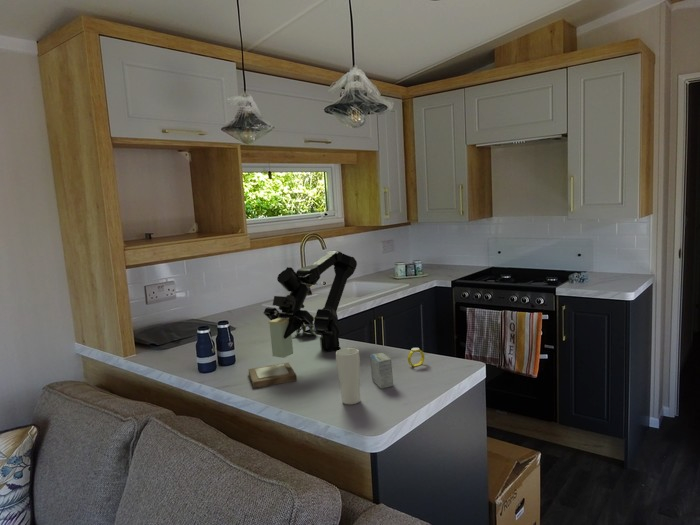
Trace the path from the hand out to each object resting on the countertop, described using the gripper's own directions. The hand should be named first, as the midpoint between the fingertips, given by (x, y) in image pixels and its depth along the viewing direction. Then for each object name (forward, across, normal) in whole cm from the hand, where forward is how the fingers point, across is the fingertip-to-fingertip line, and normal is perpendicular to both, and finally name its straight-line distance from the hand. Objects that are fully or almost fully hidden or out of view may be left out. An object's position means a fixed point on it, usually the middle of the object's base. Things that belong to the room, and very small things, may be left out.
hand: (278, 337), depth 181 cm
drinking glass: (+17, +36, +1) cm, 40 cm away
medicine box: (+6, +37, +12) cm, 40 cm away
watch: (-8, +40, +26) cm, 48 cm away
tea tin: (+4, 0, +6) cm, 7 cm away
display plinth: (+12, 0, +5) cm, 14 cm away
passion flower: (-19, -22, +37) cm, 47 cm away
